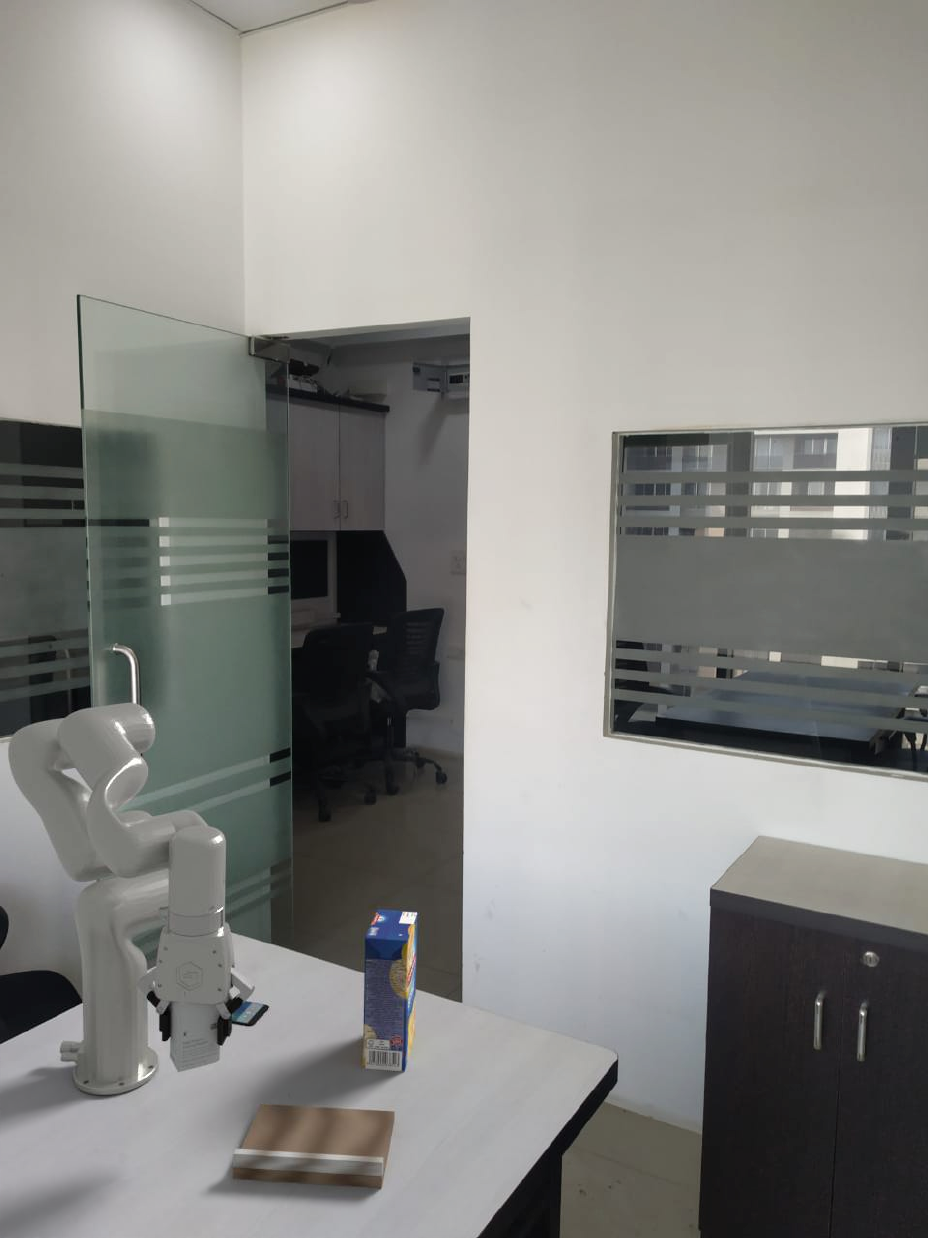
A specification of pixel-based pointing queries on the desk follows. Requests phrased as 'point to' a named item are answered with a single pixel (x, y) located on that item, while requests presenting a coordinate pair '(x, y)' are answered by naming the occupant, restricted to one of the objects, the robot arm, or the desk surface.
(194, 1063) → the skincare box
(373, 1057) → the beverage box
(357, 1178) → the shelf board
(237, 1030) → the desk surface
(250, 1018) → the smartphone
